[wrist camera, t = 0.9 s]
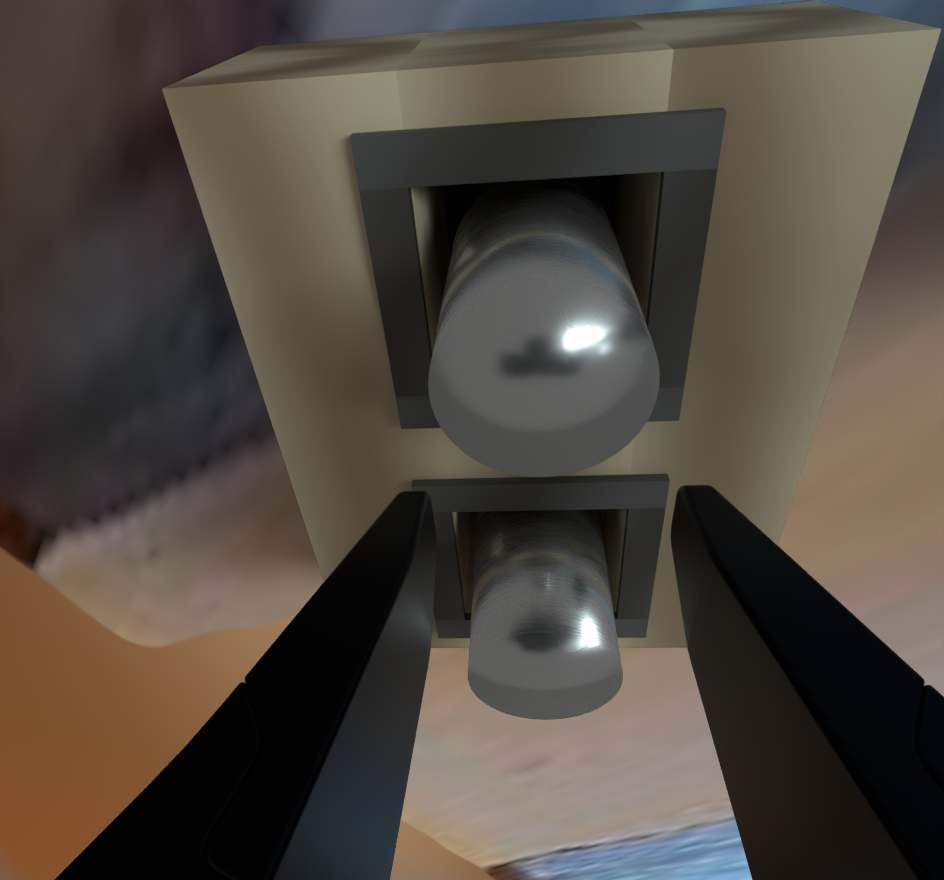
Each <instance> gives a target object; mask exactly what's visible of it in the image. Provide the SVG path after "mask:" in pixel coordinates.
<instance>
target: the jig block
mask: <svg viewBox="0 0 944 880" xmlns="http://www.w3.org/2000/svg"><path fill="white" fill-rule="evenodd" d="M940 32H941V28H936V27H932V26H927V25H922V24H917V23H913V22H908V21H903V20H899V19H894V18H889V17H885V16H880V15H875V14H871V13H866V12H861V11H857V10H852V9H847V8H843V7H838V6H833V5H829V4H824V3H819V2H815V1H807V2H795V3H783V4H771V5H758V6H746V7H734V8H722V9H709V10H697V11H685V12H673V13H660V14H648V15H636V16H624V17H612V18H599V19H587V20H575V21H563V22H550V23H538V24H526V25H514V26H501V27H489V28H477V29H465V30H452V31H440V32H428V33H416V34H403V35H391V36H379V37H367V38H355V39H342V40H330V41H318V42H306V43H293V44H281V45H269V46H259V47H256V48H254V49H252V50H250V51H247V52H245V53H243V54H240V55H238V56H236V57H234V58H231V59H229V60H227V61H224V62H222V63H220V64H217V65H215V66H213V67H211V68H208V69H206V70H204V71H201V72H199V73H197V74H195V75H192V76H190V77H188V78H185V79H183V80H181V81H179V82H176V83H174V84H172V85H169V86H167V87H165V88H162V91H163V94H164V97H165V100H166V103H167V106H168V109H169V112H170V115H171V118H172V121H173V124H174V127H175V130H176V133H177V136H178V139H179V143H180V146H181V149H182V152H183V155H184V158H185V161H186V164H187V167H188V170H189V173H190V176H191V179H192V182H193V185H194V188H195V191H196V194H197V197H198V200H199V203H200V206H201V209H202V213H203V216H204V219H205V222H206V225H207V228H208V231H209V234H210V237H211V240H212V243H213V246H214V249H215V252H216V255H217V258H218V261H219V264H220V267H221V270H222V273H223V276H224V280H225V283H226V286H227V289H228V292H229V295H230V298H231V301H232V304H233V307H234V310H235V313H236V316H237V319H238V322H239V325H240V328H241V331H242V334H243V337H244V340H245V343H246V346H247V350H248V353H249V356H250V359H251V362H252V365H253V368H254V371H255V374H256V377H257V380H258V383H259V386H260V389H261V392H262V395H263V398H264V401H265V404H266V407H267V410H268V413H269V416H270V420H271V423H272V426H273V429H274V432H275V435H276V438H277V441H278V444H279V447H280V450H281V453H282V456H283V459H284V462H285V465H286V468H287V471H288V474H289V477H290V480H291V483H292V486H293V490H294V493H295V496H296V499H297V502H298V505H299V508H300V511H301V514H302V517H303V520H304V523H305V526H306V529H307V532H308V535H309V538H310V541H311V544H312V547H313V550H314V553H315V557H316V560H317V563H318V566H319V569H320V572H321V575H322V578H323V581H324V582H325V580H326V579H327V578H328V577H329V576H330V574H331V573H332V572H333V571H334V570H335V568H336V567H337V566H338V565H339V564H340V562H341V561H342V560H343V559H344V558H345V556H346V555H347V554H348V553H349V552H350V550H351V549H352V548H353V547H354V546H355V544H356V543H357V542H358V541H359V540H360V538H361V537H362V536H363V535H364V534H365V532H366V531H367V530H368V529H369V528H370V526H371V525H372V524H373V523H374V522H375V520H376V519H377V518H378V517H379V515H380V514H381V513H382V512H383V511H384V509H385V508H386V507H387V506H388V505H389V503H390V502H391V501H392V500H393V499H394V497H395V496H396V495H397V494H398V493H400V492H403V491H426V492H428V493H429V495H430V497H431V503H432V509H433V516H434V522H435V529H436V538H437V551H436V569H435V588H434V607H433V626H432V639H431V648H469V647H470V630H471V613H472V596H473V579H474V562H475V545H476V528H477V514H478V512H485V511H537V510H589V509H598V514H599V521H600V527H601V534H602V541H603V547H604V554H605V560H606V567H607V574H608V580H609V587H610V593H611V600H612V607H613V613H614V620H615V626H616V633H617V640H618V646H619V648H687V642H686V637H685V631H684V625H683V618H682V612H681V605H680V599H679V592H678V586H677V579H676V573H675V567H674V560H673V554H672V547H671V525H672V519H673V513H674V507H675V500H676V495H677V491H678V489H679V488H680V487H681V486H683V485H710V486H712V487H714V488H715V489H716V490H717V491H718V492H720V493H721V494H722V495H723V496H724V497H725V498H726V499H727V500H728V501H729V502H730V503H732V504H733V505H734V506H735V507H736V508H737V509H738V510H739V511H740V512H741V513H743V514H744V515H745V516H746V517H747V518H748V519H749V520H750V521H751V522H752V523H753V524H755V525H756V526H757V527H758V528H759V529H760V530H761V531H762V532H763V533H764V534H765V535H767V536H768V537H769V538H770V539H771V540H772V541H773V542H774V543H775V544H776V545H778V544H779V541H780V537H781V534H782V531H783V528H784V525H785V522H786V518H787V515H788V512H789V509H790V506H791V503H792V499H793V496H794V493H795V490H796V487H797V484H798V481H799V477H800V474H801V471H802V468H803V465H804V462H805V458H806V455H807V452H808V449H809V446H810V443H811V439H812V436H813V433H814V430H815V427H816V424H817V421H818V417H819V414H820V411H821V408H822V405H823V402H824V398H825V395H826V392H827V389H828V386H829V383H830V380H831V376H832V373H833V370H834V367H835V364H836V361H837V357H838V354H839V351H840V348H841V345H842V342H843V338H844V335H845V332H846V329H847V326H848V323H849V320H850V316H851V313H852V310H853V307H854V304H855V301H856V297H857V294H858V291H859V288H860V285H861V282H862V279H863V275H864V272H865V269H866V266H867V263H868V260H869V256H870V253H871V250H872V247H873V244H874V241H875V237H876V234H877V231H878V228H879V225H880V222H881V219H882V215H883V212H884V209H885V206H886V203H887V200H888V196H889V193H890V190H891V187H892V184H893V181H894V177H895V174H896V171H897V168H898V165H899V162H900V159H901V155H902V152H903V149H904V146H905V143H906V140H907V136H908V133H909V130H910V127H911V124H912V121H913V118H914V114H915V111H916V108H917V105H918V102H919V99H920V95H921V92H922V89H923V86H924V83H925V80H926V76H927V73H928V70H929V67H930V64H931V61H932V58H933V54H934V51H935V48H936V45H937V42H938V39H939V35H940ZM603 175H616V189H615V206H614V222H613V230H614V233H615V236H616V239H617V242H618V245H619V247H620V250H621V253H622V256H623V259H624V262H625V265H626V268H627V270H628V273H629V276H630V279H631V282H632V285H633V288H634V290H635V293H636V296H637V299H638V302H639V305H640V308H641V311H642V313H643V316H644V319H645V322H646V325H647V328H648V331H649V334H650V336H651V339H652V342H653V345H654V348H655V351H656V355H657V358H658V363H659V371H660V381H659V391H658V395H657V400H656V403H655V405H654V408H653V411H652V413H651V415H650V417H649V419H648V420H647V422H646V424H645V425H644V427H643V428H642V429H641V431H640V432H639V433H638V435H637V436H636V437H635V438H634V439H633V440H632V441H631V442H630V443H629V444H628V445H627V446H625V447H624V448H623V449H622V450H621V451H619V452H618V453H616V454H615V455H613V456H612V457H610V458H609V459H607V460H605V461H603V462H601V463H599V464H597V465H595V466H593V467H590V468H588V469H585V470H582V471H579V472H575V473H571V474H566V475H560V476H552V477H527V476H519V475H513V474H509V473H505V472H501V471H498V470H495V469H492V468H490V467H488V466H486V465H483V464H481V463H479V462H477V461H476V460H474V459H473V458H471V457H469V456H468V455H466V454H465V453H464V452H463V451H461V450H460V449H459V448H458V447H457V446H456V445H455V444H454V443H453V442H452V441H451V440H450V439H449V438H448V437H447V435H446V434H445V433H444V431H443V430H442V429H441V427H440V425H439V423H438V421H437V420H436V417H435V415H434V412H433V410H432V407H431V402H430V398H429V388H428V379H429V369H430V364H431V358H432V353H433V348H434V343H435V337H436V332H437V327H438V321H439V316H440V311H441V305H442V300H443V295H444V290H445V284H446V279H447V274H448V268H449V263H450V258H451V256H450V246H449V236H448V225H447V215H446V205H445V195H444V185H457V184H473V183H489V182H506V181H522V180H538V179H554V178H570V177H587V176H603Z"/></svg>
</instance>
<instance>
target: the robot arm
mask: <svg viewBox="0 0 944 880" xmlns="http://www.w3.org/2000/svg"><path fill="white" fill-rule="evenodd" d="M671 547H672V554H673V560H674V567H675V573H676V579H677V586H678V592H679V599H680V605H681V612H682V618H683V625H684V631H685V637H686V642H687V648H688V652H689V656H690V660H691V664H692V667H693V671H694V674H695V678H696V681H697V685H698V689H699V692H700V696H701V699H702V703H703V706H704V710H705V713H706V717H707V720H708V724H709V727H710V731H711V734H712V738H713V742H714V745H715V749H716V752H717V756H718V759H719V763H720V766H721V770H722V773H723V777H724V780H725V784H726V788H727V791H728V795H729V798H730V802H731V805H732V809H733V812H734V816H735V819H736V823H737V826H738V830H739V833H740V837H741V841H742V844H743V848H744V851H745V855H746V858H747V862H748V865H749V869H750V872H751V876H752V879H753V880H944V697H943V696H942V695H941V694H940V693H939V692H938V691H937V690H936V689H934V688H933V687H932V686H931V685H925V686H924V684H925V682H924V679H923V678H922V677H921V676H920V675H919V674H918V673H917V672H915V671H914V670H913V669H912V668H911V667H910V666H909V665H908V664H907V663H906V662H904V661H903V660H902V659H901V658H900V657H899V656H898V655H897V654H896V653H895V652H894V651H892V650H891V649H890V648H889V647H888V646H887V645H886V644H885V643H884V642H883V641H882V640H880V639H879V638H878V637H877V636H876V635H875V634H874V633H873V632H872V631H871V630H869V629H868V628H867V627H866V626H865V625H864V624H863V623H862V622H861V621H860V620H859V619H857V618H856V617H855V616H854V615H853V614H852V613H851V612H850V611H849V610H848V609H846V608H845V607H844V606H843V605H842V604H841V603H840V602H839V601H838V600H837V599H836V598H834V597H833V596H832V595H831V594H830V593H829V592H828V591H827V590H826V589H825V588H824V587H822V586H821V585H820V584H819V583H818V582H817V581H816V580H815V579H814V578H813V577H811V576H810V575H809V574H808V573H807V572H806V571H805V570H804V569H803V568H802V567H801V566H799V565H798V564H797V563H796V562H795V561H794V560H793V559H792V558H791V557H790V556H788V555H787V554H786V553H785V552H784V551H783V550H782V549H781V548H780V547H779V546H778V545H776V544H775V543H774V542H773V541H772V540H771V539H770V538H769V537H768V536H767V535H765V534H764V533H763V532H762V531H761V530H760V529H759V528H758V527H757V526H756V525H755V524H753V523H752V522H751V521H750V520H749V519H748V518H747V517H746V516H745V515H744V514H743V513H741V512H740V511H739V510H738V509H737V508H736V507H735V506H734V505H733V504H732V503H730V502H729V501H728V500H727V499H726V498H725V497H724V496H723V495H722V494H721V493H720V492H718V491H717V490H716V489H715V488H714V487H712V486H710V485H683V486H681V487H680V488H679V489H678V491H677V495H676V500H675V507H674V513H673V519H672V525H671ZM436 551H437V538H436V529H435V522H434V516H433V509H432V503H431V497H430V495H429V493H428V492H426V491H403V492H400V493H398V494H397V495H396V496H395V497H394V499H393V500H392V501H391V502H390V503H389V505H388V506H387V507H386V508H385V509H384V511H383V512H382V513H381V514H380V515H379V517H378V518H377V519H376V520H375V522H374V523H373V524H372V525H371V526H370V528H369V529H368V530H367V531H366V532H365V534H364V535H363V536H362V537H361V538H360V540H359V541H358V542H357V543H356V544H355V546H354V547H353V548H352V549H351V550H350V552H349V553H348V554H347V555H346V556H345V558H344V559H343V560H342V561H341V562H340V564H339V565H338V566H337V567H336V568H335V570H334V571H333V572H332V573H331V574H330V576H329V577H328V578H327V579H326V580H325V582H324V583H323V584H322V585H321V586H320V588H319V589H318V590H317V591H316V592H315V594H314V595H313V596H312V597H311V598H310V600H309V601H308V602H307V603H306V604H305V606H304V607H303V608H302V609H301V610H300V612H299V613H298V614H297V615H296V616H295V618H294V619H293V620H292V621H291V622H290V624H289V625H288V626H287V627H286V629H285V630H284V631H283V632H282V633H281V634H280V636H279V637H278V638H277V639H276V641H275V642H274V643H273V644H272V645H271V647H270V648H269V649H268V650H267V651H266V653H265V654H264V655H263V656H262V657H261V659H260V660H259V661H258V662H257V663H256V665H255V666H254V667H253V668H252V670H251V671H250V672H249V673H248V674H247V675H246V677H245V683H246V684H245V683H243V682H241V683H240V684H239V685H238V686H237V687H236V688H235V689H234V691H233V692H232V693H231V694H230V695H229V697H228V698H227V699H226V700H225V701H224V703H223V704H222V705H221V706H220V707H219V709H218V710H217V711H216V712H215V713H214V714H213V716H212V717H211V718H210V719H209V720H208V721H207V722H206V723H205V725H204V726H203V727H202V728H201V729H200V730H199V732H198V733H197V734H196V735H195V736H194V737H193V738H192V739H191V741H190V742H189V743H188V744H187V745H186V746H185V747H184V749H183V750H182V751H181V752H180V753H179V754H178V755H177V756H176V757H175V758H174V759H173V760H172V761H171V762H170V763H169V764H168V765H167V766H166V767H165V768H164V770H162V771H161V772H160V774H159V775H158V776H157V777H156V778H155V779H154V780H153V781H152V782H151V783H150V784H149V785H148V786H147V787H146V788H145V789H144V790H143V791H142V792H141V793H140V794H139V795H138V796H137V797H136V798H135V799H134V800H133V801H132V803H130V804H129V805H128V806H127V807H126V808H125V809H124V810H123V812H121V813H120V814H119V816H117V817H116V818H115V819H114V820H113V821H112V822H111V823H110V824H109V825H108V826H107V828H106V829H104V830H103V831H102V832H101V833H100V834H99V835H98V837H96V839H94V841H93V842H92V843H90V845H89V846H88V847H87V848H86V849H85V850H84V851H83V852H82V853H81V854H80V855H79V856H78V857H77V858H76V859H75V860H74V861H73V862H72V863H71V864H70V865H69V866H68V867H67V868H66V869H65V870H64V871H63V872H62V873H61V874H60V875H59V876H58V877H57V878H56V879H55V880H390V876H391V870H392V865H393V859H394V854H395V848H396V842H397V837H398V831H399V826H400V820H401V815H402V809H403V803H404V798H405V792H406V786H407V781H408V775H409V770H410V764H411V758H412V753H413V747H414V742H415V736H416V730H417V725H418V719H419V714H420V708H421V702H422V697H423V691H424V686H425V680H426V674H427V669H428V663H429V656H430V649H431V639H432V626H433V607H434V588H435V569H436Z"/></svg>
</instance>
